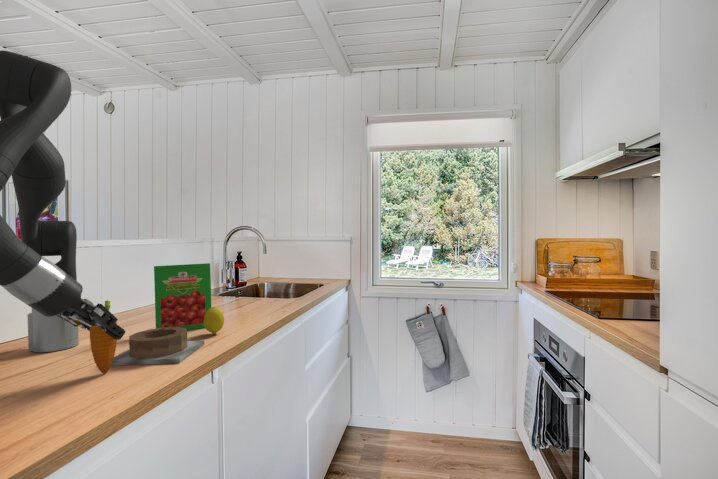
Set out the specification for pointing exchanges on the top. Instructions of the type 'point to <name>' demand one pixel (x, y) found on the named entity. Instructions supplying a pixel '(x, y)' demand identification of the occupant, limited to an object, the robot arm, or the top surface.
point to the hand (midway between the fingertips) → (112, 334)
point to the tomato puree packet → (182, 295)
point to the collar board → (158, 347)
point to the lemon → (213, 320)
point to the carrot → (102, 346)
